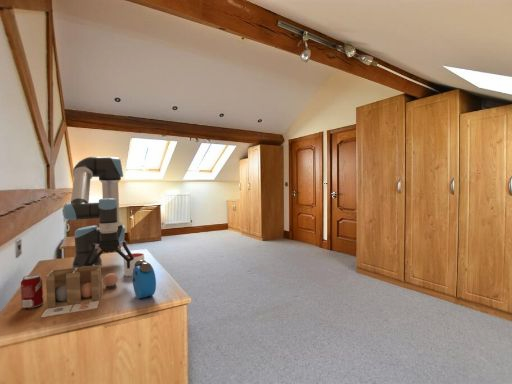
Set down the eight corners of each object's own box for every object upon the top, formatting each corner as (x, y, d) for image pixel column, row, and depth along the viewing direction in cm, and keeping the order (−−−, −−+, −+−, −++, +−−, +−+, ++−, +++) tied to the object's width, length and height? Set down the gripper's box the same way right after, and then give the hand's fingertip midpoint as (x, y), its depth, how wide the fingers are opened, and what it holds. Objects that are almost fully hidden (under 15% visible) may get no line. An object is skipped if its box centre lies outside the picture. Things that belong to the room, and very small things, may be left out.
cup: (131, 278, 146) (131, 258, 146) (120, 275, 151) (119, 256, 151) (148, 272, 154) (148, 254, 154) (136, 270, 160) (136, 252, 159)
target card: (46, 309, 110) (46, 308, 110) (99, 301, 117) (99, 300, 117) (40, 317, 104) (40, 315, 104) (96, 308, 110) (96, 306, 110)
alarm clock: (156, 299, 118) (155, 263, 117) (141, 303, 114) (140, 266, 114) (146, 290, 128) (145, 257, 128) (132, 294, 124) (131, 259, 124)
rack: (53, 300, 119) (52, 270, 119) (101, 293, 126) (100, 264, 126) (47, 308, 111) (45, 276, 110) (99, 300, 118) (98, 270, 117)
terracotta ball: (81, 295, 122) (80, 282, 122) (97, 293, 124) (96, 279, 124) (78, 301, 116) (78, 286, 116) (95, 298, 119) (94, 284, 118)
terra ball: (104, 285, 135) (103, 272, 135) (118, 283, 137) (118, 270, 137) (102, 289, 129) (102, 276, 129) (117, 287, 132) (117, 274, 131)
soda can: (31, 310, 110) (30, 279, 109) (17, 309, 111) (15, 278, 111) (47, 303, 116) (46, 274, 116) (34, 302, 118) (32, 273, 117)
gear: (106, 286, 134) (106, 284, 134) (116, 285, 136) (116, 283, 136) (105, 289, 130) (105, 287, 130) (115, 288, 132) (115, 286, 132)
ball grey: (57, 299, 118) (56, 285, 118) (74, 297, 121) (73, 282, 121) (53, 305, 113) (52, 290, 113) (71, 302, 115) (70, 287, 115)
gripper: (75, 235, 124) (77, 284, 125) (138, 230, 134) (139, 275, 134) (79, 233, 131) (80, 279, 131) (138, 228, 141) (139, 271, 141)
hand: (110, 277), depth 133 cm, fingers open, 13 cm apart
